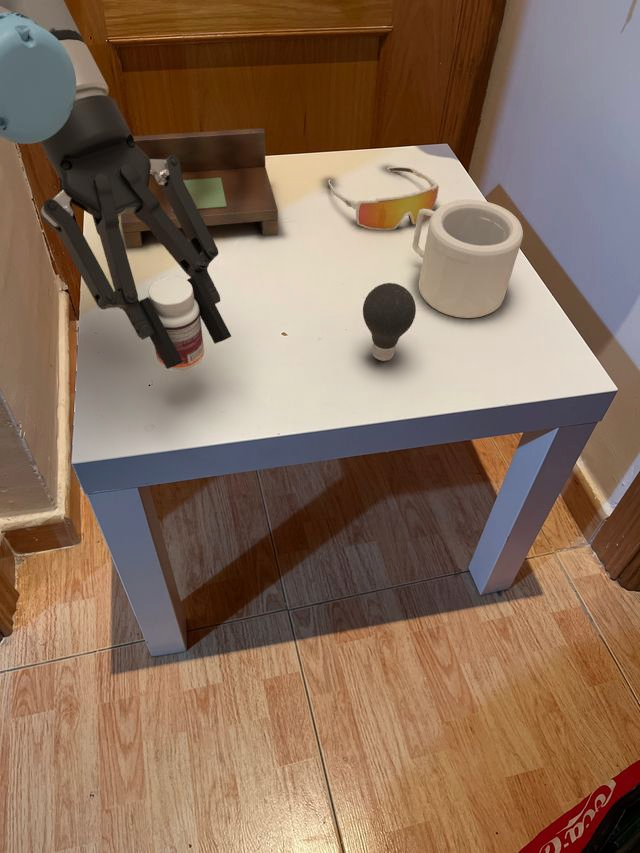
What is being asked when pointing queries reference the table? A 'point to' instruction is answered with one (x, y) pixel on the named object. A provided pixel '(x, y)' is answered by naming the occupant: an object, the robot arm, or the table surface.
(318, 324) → the table surface
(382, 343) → the light bulb
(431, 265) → the mug
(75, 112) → the robot arm
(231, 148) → the shelf
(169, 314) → the pill bottle
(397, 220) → the sunglasses
